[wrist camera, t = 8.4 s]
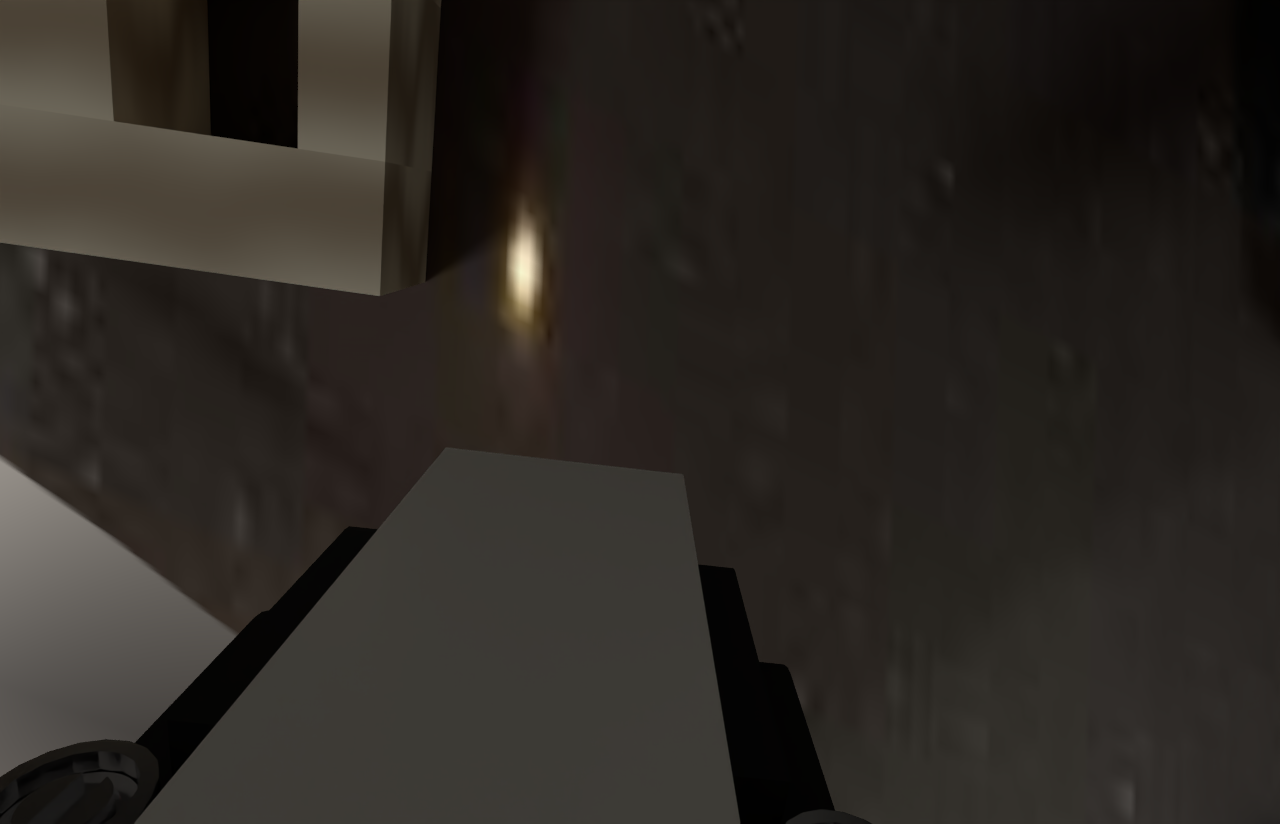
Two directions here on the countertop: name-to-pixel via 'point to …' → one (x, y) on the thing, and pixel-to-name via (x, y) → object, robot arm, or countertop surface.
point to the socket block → (220, 143)
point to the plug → (488, 667)
